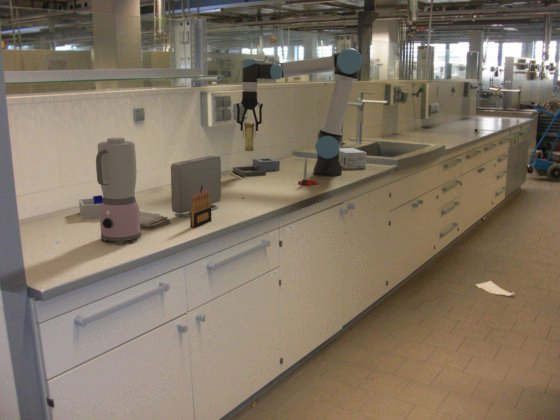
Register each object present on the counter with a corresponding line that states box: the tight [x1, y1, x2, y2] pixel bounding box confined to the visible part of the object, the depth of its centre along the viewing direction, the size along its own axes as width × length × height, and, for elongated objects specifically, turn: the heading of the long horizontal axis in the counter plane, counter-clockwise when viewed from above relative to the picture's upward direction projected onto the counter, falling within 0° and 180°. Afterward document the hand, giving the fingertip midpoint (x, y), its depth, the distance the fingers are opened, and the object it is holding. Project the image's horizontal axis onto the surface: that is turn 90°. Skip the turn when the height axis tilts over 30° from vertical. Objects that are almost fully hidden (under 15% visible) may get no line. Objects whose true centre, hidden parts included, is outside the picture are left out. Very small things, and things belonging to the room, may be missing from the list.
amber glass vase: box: [243, 122, 256, 152], centre depth 283 cm, size 5×5×14 cm
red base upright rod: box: [297, 157, 319, 186], centre depth 268 cm, size 8×13×9 cm
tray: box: [232, 165, 267, 179], centre depth 287 cm, size 16×12×3 cm
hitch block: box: [252, 157, 281, 172], centre depth 299 cm, size 11×11×6 cm
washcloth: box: [140, 211, 171, 231], centre depth 195 cm, size 12×18×3 cm, turn 63°
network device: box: [170, 155, 222, 218], centre depth 210 cm, size 26×9×20 cm, turn 151°
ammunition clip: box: [189, 189, 213, 229], centre depth 194 cm, size 11×2×12 cm, turn 154°
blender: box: [95, 137, 142, 245], centre depth 171 cm, size 16×12×32 cm
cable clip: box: [92, 194, 103, 204], centre depth 206 cm, size 12×4×6 cm, turn 47°
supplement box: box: [339, 147, 368, 170], centre depth 321 cm, size 17×13×9 cm
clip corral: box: [78, 197, 103, 220], centre depth 206 cm, size 11×19×5 cm, turn 115°
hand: (249, 137), depth 283 cm, fingers closed on amber glass vase, 5 cm apart
